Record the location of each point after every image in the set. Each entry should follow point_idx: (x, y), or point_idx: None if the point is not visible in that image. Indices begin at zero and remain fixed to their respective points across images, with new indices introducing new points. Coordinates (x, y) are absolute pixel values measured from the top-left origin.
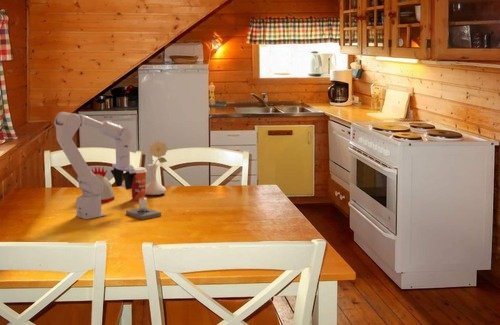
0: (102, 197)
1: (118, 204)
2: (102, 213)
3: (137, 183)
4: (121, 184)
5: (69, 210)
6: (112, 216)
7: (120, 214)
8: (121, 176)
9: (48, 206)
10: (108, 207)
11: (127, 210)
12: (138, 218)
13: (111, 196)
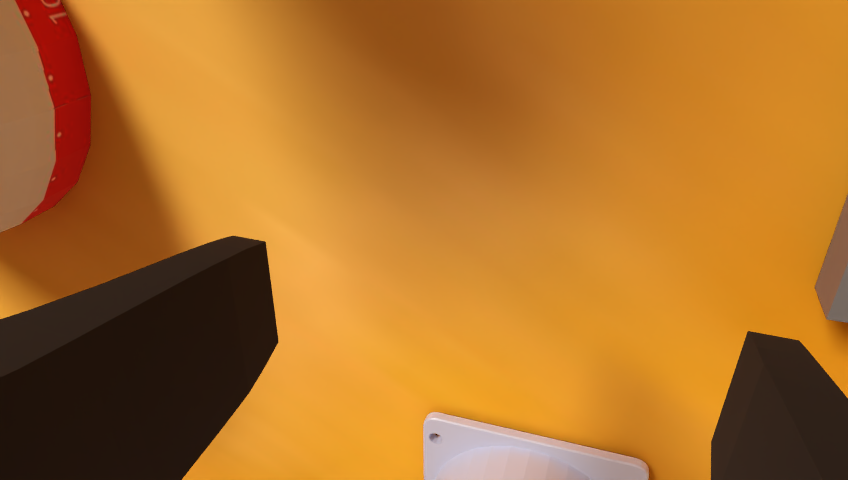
0: (28, 131)
1: (243, 4)
2: (578, 459)
3: None
4: (245, 264)
5: (223, 465)
6: None
7: (746, 333)
8: (49, 403)
9: None
10: (317, 198)
11: (843, 302)
12: None
13: None
